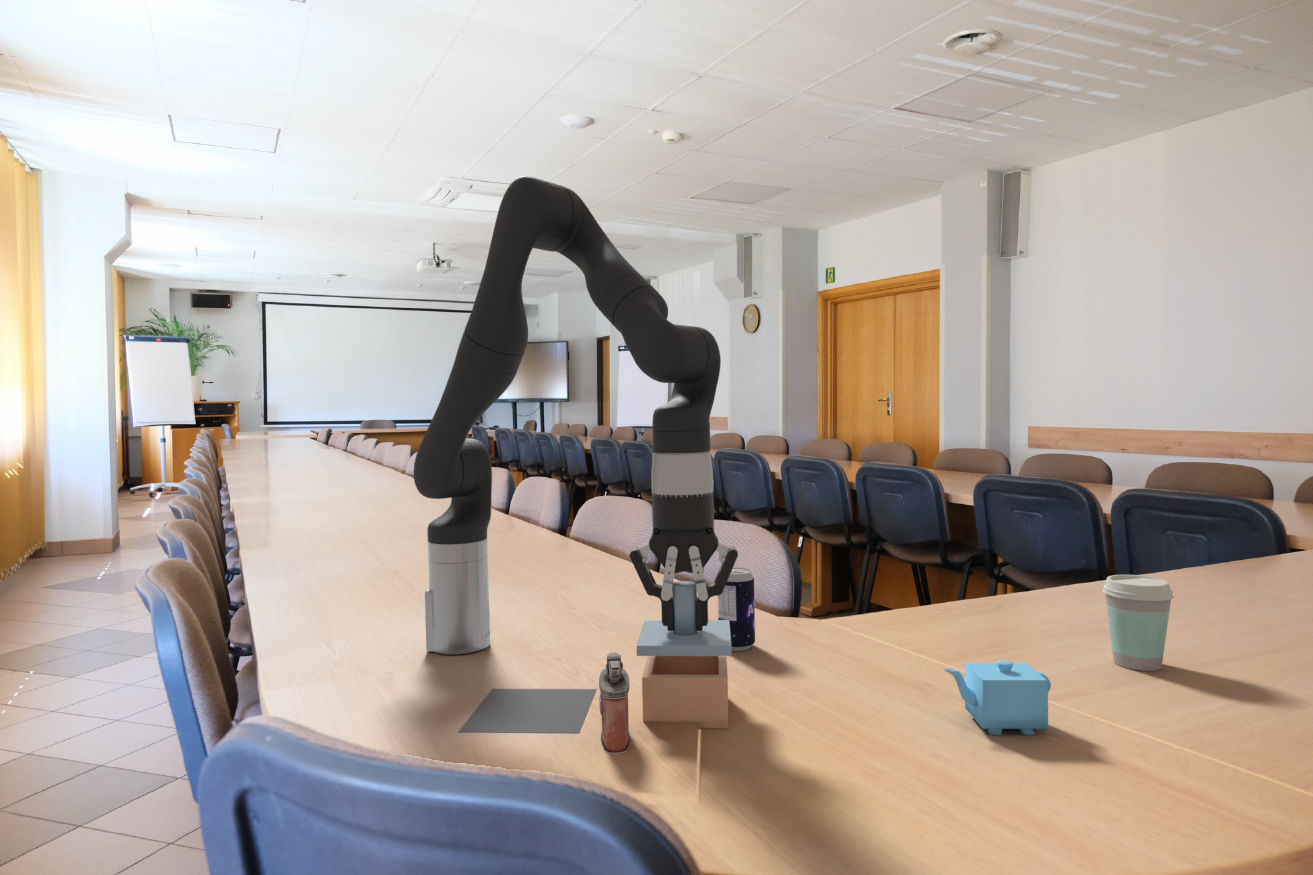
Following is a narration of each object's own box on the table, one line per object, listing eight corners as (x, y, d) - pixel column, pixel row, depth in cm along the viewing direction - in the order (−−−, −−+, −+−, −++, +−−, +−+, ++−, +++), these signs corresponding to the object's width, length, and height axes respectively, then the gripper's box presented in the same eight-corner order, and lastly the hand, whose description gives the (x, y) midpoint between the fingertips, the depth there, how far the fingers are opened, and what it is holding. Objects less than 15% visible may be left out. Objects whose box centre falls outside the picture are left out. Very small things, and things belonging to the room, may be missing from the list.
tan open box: (643, 727, 93) (641, 677, 92) (649, 696, 103) (648, 651, 102) (728, 728, 92) (727, 677, 92) (726, 697, 102) (726, 651, 102)
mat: (458, 738, 91) (458, 731, 91) (492, 694, 105) (492, 688, 105) (579, 739, 90) (578, 732, 90) (596, 695, 104) (596, 689, 104)
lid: (636, 655, 92) (635, 594, 92) (644, 629, 103) (643, 574, 103) (731, 655, 91) (730, 593, 91) (729, 629, 102) (728, 574, 102)
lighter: (600, 731, 92) (597, 646, 92) (628, 729, 92) (627, 645, 92) (601, 761, 84) (598, 669, 84) (632, 760, 84) (630, 667, 84)
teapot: (952, 736, 89) (951, 670, 88) (936, 715, 95) (935, 653, 95) (1062, 737, 88) (1061, 670, 88) (1039, 716, 94) (1039, 653, 94)
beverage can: (753, 653, 120) (752, 574, 119) (716, 651, 121) (715, 574, 121) (756, 642, 125) (755, 567, 125) (721, 640, 127) (719, 566, 126)
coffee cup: (1163, 657, 114) (1163, 575, 114) (1181, 677, 106) (1181, 588, 106) (1096, 652, 117) (1096, 572, 116) (1109, 671, 109) (1109, 585, 108)
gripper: (621, 493, 93) (625, 638, 94) (741, 491, 92) (744, 638, 93) (628, 487, 101) (631, 621, 101) (739, 485, 100) (741, 620, 100)
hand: (685, 628), depth 97 cm, fingers closed on lid, 3 cm apart
